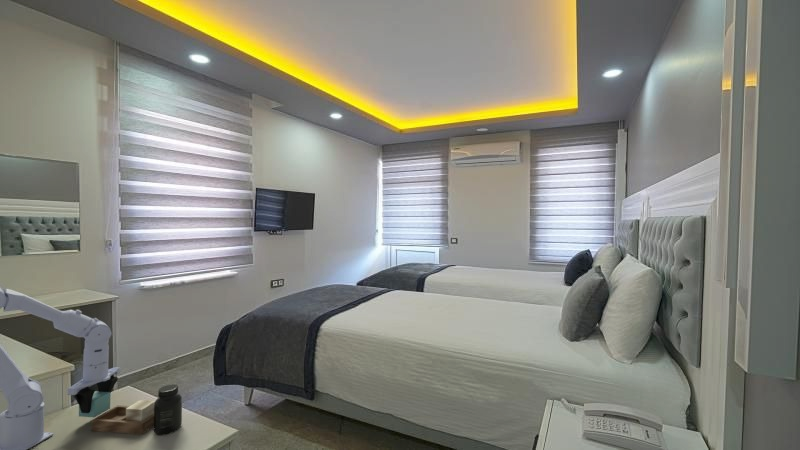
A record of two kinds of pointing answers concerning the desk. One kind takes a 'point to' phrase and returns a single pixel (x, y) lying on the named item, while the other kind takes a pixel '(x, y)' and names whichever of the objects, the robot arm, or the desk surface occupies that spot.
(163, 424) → the supplement bottle
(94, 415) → the teal block
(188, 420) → the desk surface
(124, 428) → the walnut puzzle board
